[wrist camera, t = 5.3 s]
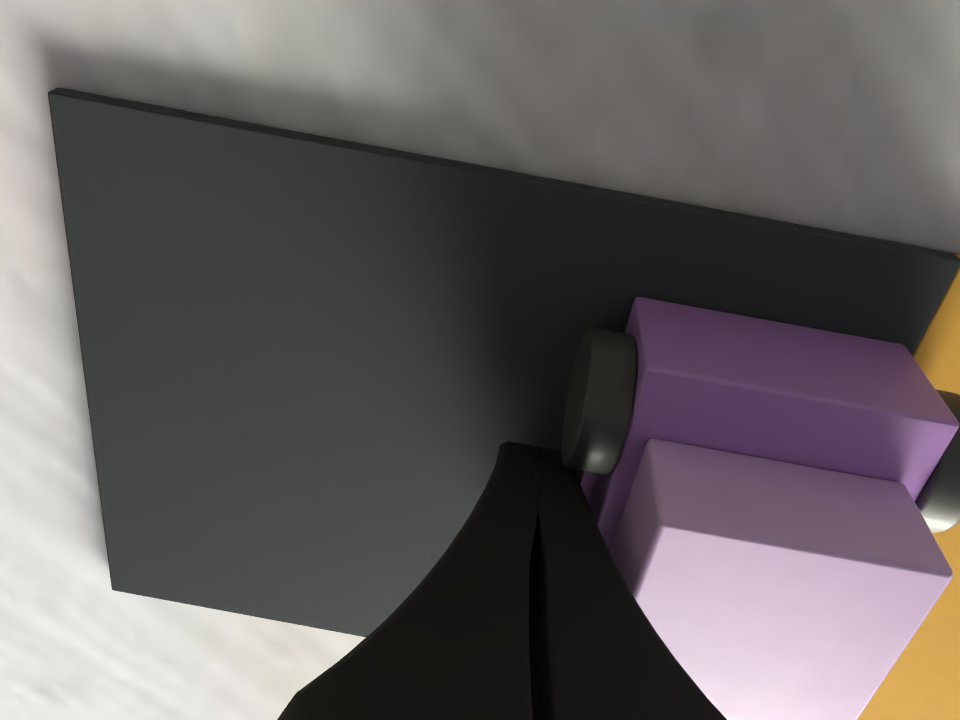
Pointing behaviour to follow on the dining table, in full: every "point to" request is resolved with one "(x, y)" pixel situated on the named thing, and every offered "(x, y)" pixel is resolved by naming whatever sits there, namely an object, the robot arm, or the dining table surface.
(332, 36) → the dining table surface
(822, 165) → the dining table surface
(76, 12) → the dining table surface
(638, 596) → the toy car
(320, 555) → the play mat
